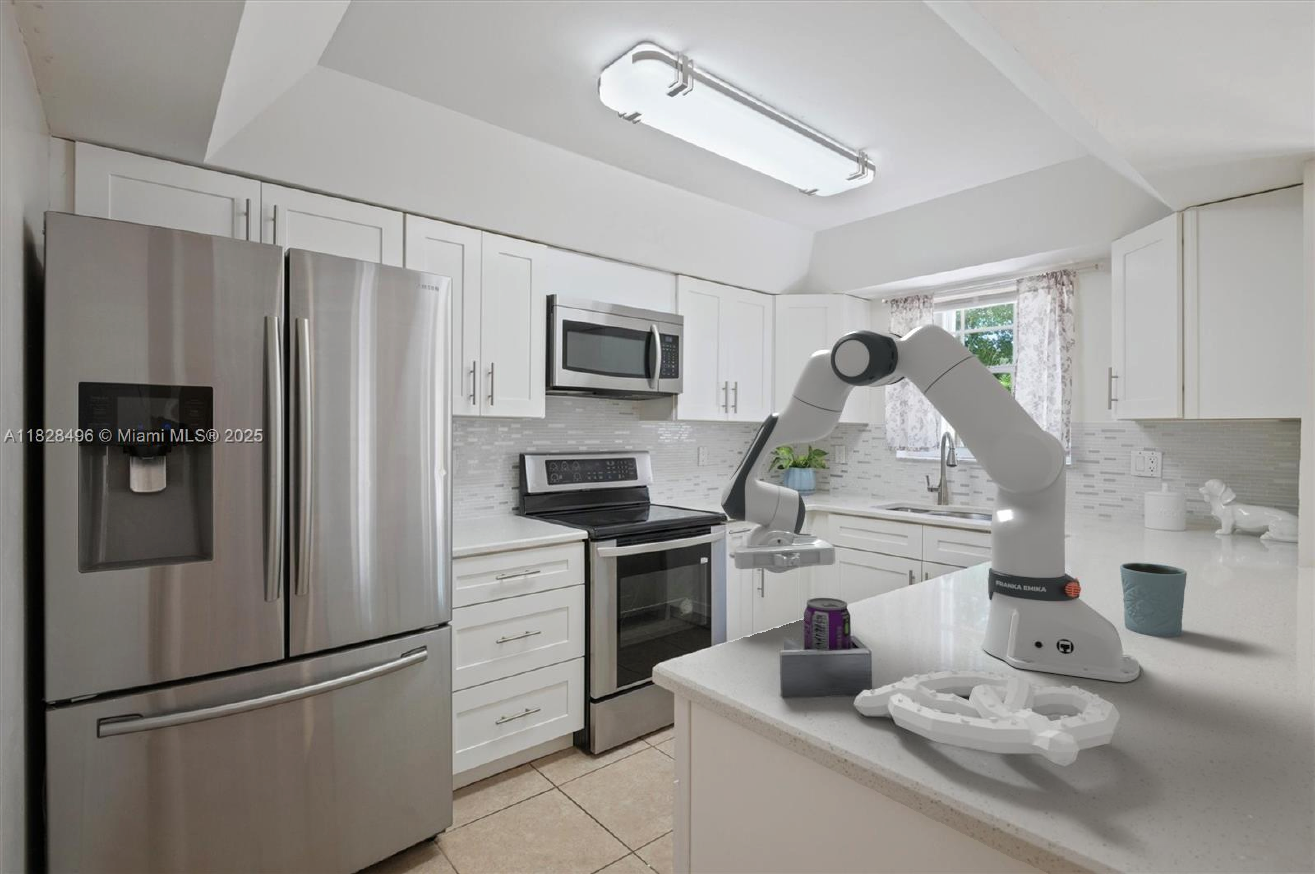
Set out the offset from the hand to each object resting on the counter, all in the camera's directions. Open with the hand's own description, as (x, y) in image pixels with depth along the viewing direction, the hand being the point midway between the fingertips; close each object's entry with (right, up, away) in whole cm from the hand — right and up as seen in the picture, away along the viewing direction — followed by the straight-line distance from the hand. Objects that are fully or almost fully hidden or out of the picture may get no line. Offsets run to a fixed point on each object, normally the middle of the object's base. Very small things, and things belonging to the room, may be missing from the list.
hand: (792, 562), depth 121 cm
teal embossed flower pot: (+69, -13, 0) cm, 70 cm away
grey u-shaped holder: (-1, -14, -24) cm, 28 cm away
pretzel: (+16, -14, -41) cm, 46 cm away
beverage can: (+1, -14, -22) cm, 26 cm away
